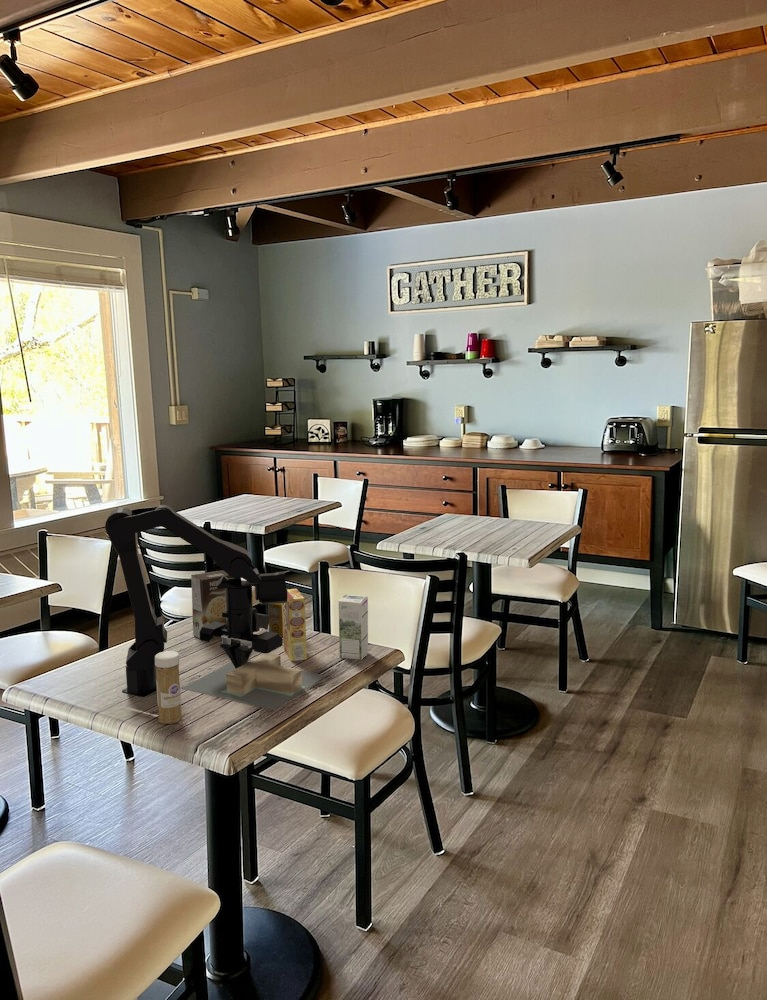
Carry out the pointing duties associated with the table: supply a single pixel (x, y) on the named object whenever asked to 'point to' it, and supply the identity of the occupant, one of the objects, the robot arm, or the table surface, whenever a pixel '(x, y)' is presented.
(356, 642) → the syrup box
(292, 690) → the t block
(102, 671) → the table surface
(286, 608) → the candy box
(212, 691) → the push mat
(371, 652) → the table surface
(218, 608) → the coffee box
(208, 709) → the table surface
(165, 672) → the sprinkles bottle
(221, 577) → the robot arm
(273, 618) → the condiment
